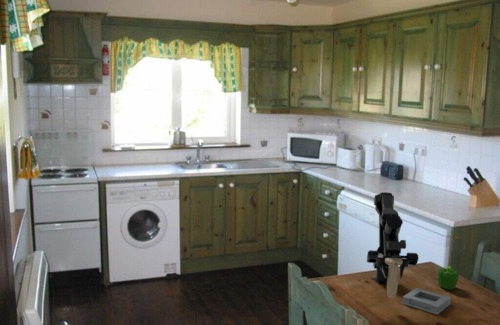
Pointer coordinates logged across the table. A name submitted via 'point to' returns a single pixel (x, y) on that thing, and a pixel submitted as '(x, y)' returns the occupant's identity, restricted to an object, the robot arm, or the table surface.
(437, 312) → the block
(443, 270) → the bell pepper
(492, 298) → the table surface
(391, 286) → the handle
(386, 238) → the robot arm
